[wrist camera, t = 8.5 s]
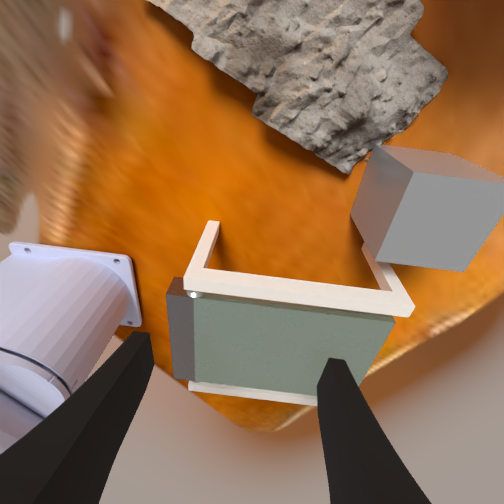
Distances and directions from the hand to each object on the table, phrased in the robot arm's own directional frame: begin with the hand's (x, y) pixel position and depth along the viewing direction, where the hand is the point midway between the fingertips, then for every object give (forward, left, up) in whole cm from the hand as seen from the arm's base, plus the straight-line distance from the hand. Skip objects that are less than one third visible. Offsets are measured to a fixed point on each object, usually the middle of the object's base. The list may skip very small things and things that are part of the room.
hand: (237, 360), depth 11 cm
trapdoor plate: (+2, -5, -5) cm, 7 cm away
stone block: (+9, +5, -11) cm, 14 cm away
